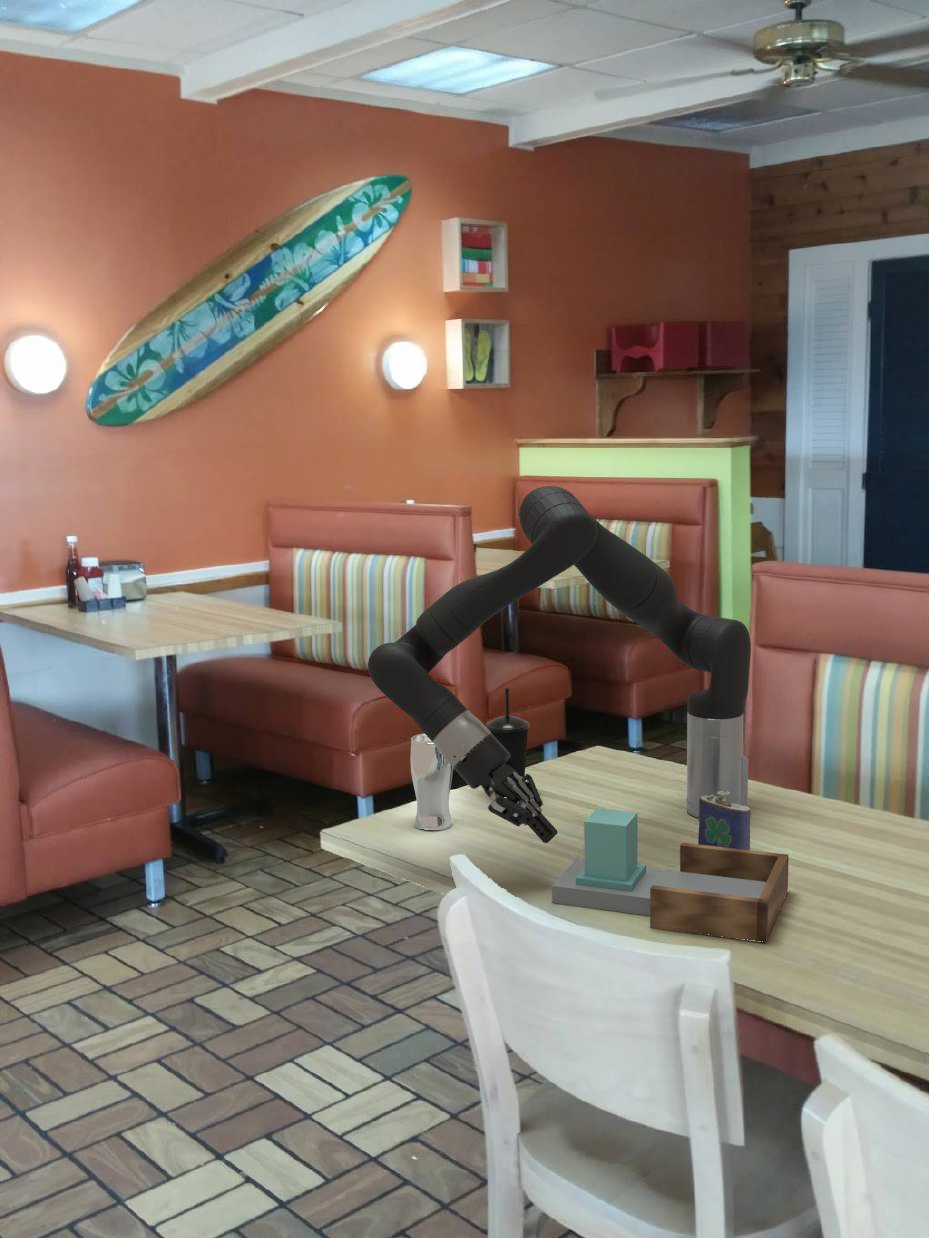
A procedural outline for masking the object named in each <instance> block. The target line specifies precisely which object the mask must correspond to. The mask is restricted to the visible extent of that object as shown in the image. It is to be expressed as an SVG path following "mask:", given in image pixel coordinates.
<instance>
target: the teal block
mask: <svg viewBox="0 0 929 1238" xmlns="http://www.w3.org/2000/svg"><path fill="white" fill-rule="evenodd" d="M583 827H584V828H583V830H584V831H583V832H584V834H583V836H584V840H583V842H584V846H583V848H584V852H583V853H584V860H585V868H584V869H583V870H582V871H581V872H580V873H579V875H578V876H577V877H576V885H583V886H591V887H598V888H606V889H614V890H622V891H629V892H632V890H633V889H634V887H635V886H636V885H637V883H638V882H639V881H640V879H641V878H642V876H643V875H644V874H645V872H646V868H647V864H642V863H638V812H635V811H634V812H631V811H624V810H614V809H605V808H596V809H594V810H593V811H592V813H591V814H590V815H589V816H587V817H586V819H585V820H584V823H583Z"/></svg>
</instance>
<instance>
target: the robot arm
mask: <svg viewBox="0 0 929 1238" xmlns="http://www.w3.org/2000/svg"><path fill="white" fill-rule="evenodd" d="M518 513H519V523H520V527H521V530H522V532H523V534H524V535H525V538H526V539H527V540H528V541H529V542H530V544H531V545H530V546H529V547H528V548H527V549H526V550H525V551H524V552H523V553H522V554H520V556H518V557H517V558H515V559H514V560H513V561H511V562H509V563H508V564H506V565H504V566H502V567H500V568H499V569H496V570H493V571H490V572H488V573H484V574H480V575H478V576H475V577H471V578H469V579H467V580H464V581H462V582H460V583H458V584H456V585H455V586H453V587H451V589H449V590H447V592H445V593H444V594H442V596H440V597H439V598H438V599H437V600H435V601H434V602H433V603H432V604H431V605H430V606H429V607H428V608H426V609H425V610H424V611H423V612H422V613H421V614H420V615H419V617H417V619H416V622H415V624H414V626H412V627H411V628H410V629H409V630H408V631H406V633H404V634H403V635H402V636H401V637H399V639H397V640H396V641H395V642H386V643H383V644H380V645H379V646H377V647H375V649H374V650H373V651H372V652H371V653H370V655H369V657H368V660H367V661H368V662H367V670H368V674H369V676H370V679H371V681H372V682H373V684H374V685H375V686H376V687H377V688H378V690H379V691H380V692H382V693H383V695H385V696H386V697H387V698H388V699H389V700H390V701H391V702H392V703H393V704H395V706H397V707H398V708H399V709H400V710H402V711H403V713H406V714H407V715H408V716H409V717H410V718H411V719H412V720H413V721H414V723H415V724H416V726H418V727H417V728H419V729H420V731H422V732H423V733H425V735H426V736H427V737H428V738H429V739H430V740H431V741H432V742H433V743H434V745H435V746H436V747H437V749H438V750H439V752H440V753H441V755H442V756H443V757H444V758H445V759H446V760H447V762H448V763H449V764H450V765H451V766H452V767H453V770H454V771H455V772H457V774H458V775H459V776H460V777H461V778H462V779H463V780H464V782H465V783H466V784H467V785H468V786H469V787H470V788H471V789H474V790H476V789H478V788H479V787H481V788H482V789H483V791H484V793H485V794H486V796H487V797H488V798H490V800H491V803H490V804H489V805H487V809H488V811H489V812H490V813H491V814H494V815H496V816H497V817H499V818H501V819H503V820H504V821H507V822H509V823H511V824H513V825H515V826H516V827H520V826H521V825H523V826H526V827H527V826H528V827H529V828H530V829H531V830H532V831H533V833H534V834H535V835H536V836H537V837H538V838H539V839H540V840H541V842H543V843H544V844H548V843H549V842H550V841H551V840H553V838H555V837H556V836H557V835H558V829H557V828H556V827H554V824H552V823H551V822H550V821H549V820H548V818H547V817H545V815H544V814H543V813H542V812H543V809H542V806H543V805H544V802H543V800H542V797H541V795H540V793H539V791H538V788H537V786H536V784H535V781H534V778H533V777H532V776H531V774H529V773H525V776H524V777H521V776H519V775H518V773H517V772H516V771H515V770H514V769H513V768H511V767H510V766H509V765H507V760H508V759H509V758H510V753H509V752H508V751H507V750H506V749H505V747H504V746H503V745H502V744H501V743H500V742H499V741H498V740H497V739H496V738H495V736H494V735H493V734H492V733H491V732H490V731H489V730H488V729H487V728H486V725H484V723H483V722H482V721H481V720H480V719H479V718H478V717H476V716H475V715H474V714H473V713H472V712H471V711H469V709H467V707H466V706H465V705H464V704H463V703H462V702H461V700H459V698H458V697H457V696H456V695H455V694H454V693H453V692H452V691H451V690H450V689H449V688H447V687H446V686H444V685H443V684H440V683H439V682H437V681H436V680H435V679H434V678H433V676H431V675H430V672H432V670H433V669H434V668H435V667H436V666H438V664H439V663H440V662H441V661H442V660H443V659H444V657H445V656H446V655H447V654H448V653H450V652H451V651H452V650H454V649H455V648H457V647H458V646H459V645H460V644H461V643H462V642H464V641H465V640H466V639H467V638H468V637H469V636H471V635H472V634H473V633H475V631H477V629H479V628H480V627H482V626H483V625H484V624H485V623H486V622H488V621H489V620H490V619H491V618H493V616H495V615H497V614H498V613H499V612H500V611H502V610H503V609H505V608H507V607H509V606H510V605H511V604H513V603H515V602H516V601H517V600H519V599H521V598H523V597H525V596H526V595H528V594H530V593H531V592H532V591H534V590H535V589H538V588H539V587H540V586H543V585H544V584H546V583H547V582H549V581H550V580H552V579H554V578H555V577H557V576H558V575H560V574H562V573H563V572H565V571H566V570H569V568H571V567H575V568H576V569H577V570H578V571H579V573H580V574H581V575H582V576H583V577H584V578H585V579H586V581H588V582H589V584H590V585H591V586H592V587H593V589H594V590H595V591H596V592H597V593H598V594H599V595H601V596H602V598H604V599H605V601H607V602H608V603H609V604H610V605H611V606H612V607H614V608H615V609H616V610H618V611H619V612H620V613H622V614H623V615H624V616H626V617H628V618H629V619H631V621H633V622H635V623H636V624H638V625H639V626H640V627H641V628H643V629H644V630H645V631H647V632H649V633H650V634H652V635H654V636H655V637H656V638H657V639H658V640H660V641H661V642H662V643H663V644H664V645H665V646H666V648H668V649H669V651H670V652H672V653H673V654H674V655H675V656H676V658H677V659H679V660H680V662H682V663H683V664H684V665H686V666H687V667H689V668H691V669H694V670H697V671H700V672H707V673H710V681H709V687H708V688H706V689H703V690H699V691H694V692H692V693H691V694H689V696H688V698H687V702H686V704H687V705H686V706H687V707H686V709H687V714H686V715H687V716H686V717H687V719H686V720H687V721H686V722H687V723H686V724H687V725H686V726H687V727H686V728H687V729H686V731H687V732H686V734H687V735H686V736H687V737H686V738H687V739H686V746H687V747H686V751H687V752H686V775H687V776H686V812H687V811H688V812H687V813H688V814H689V813H690V814H689V815H691V816H693V817H695V818H698V819H699V799H700V797H702V796H710V795H712V794H713V795H714V796H715V797H720V796H719V795H718V794H717V792H720V791H723V792H725V793H727V792H726V791H728V792H729V793H730V795H729V796H728V798H729V799H728V802H730V803H733V804H738V805H742V806H748V807H749V805H748V801H749V800H748V799H749V798H748V793H749V759H748V757H747V756H746V755H744V720H745V719H744V717H745V716H744V714H745V703H746V700H747V696H748V692H749V683H750V681H749V680H750V667H751V651H752V649H751V647H752V646H751V645H752V642H751V637H750V633H749V630H748V628H747V626H746V625H745V624H744V623H743V622H742V621H739V620H738V619H737V620H736V619H731V618H725V617H718V616H714V615H713V616H712V615H706V614H701V613H699V612H697V611H694V610H693V609H691V608H690V607H688V606H687V605H685V604H684V603H683V602H681V601H680V600H679V595H678V591H677V589H678V588H677V586H676V584H675V581H674V580H673V578H672V576H670V575H669V574H668V573H667V572H666V570H665V569H663V568H662V567H661V566H660V565H658V564H657V563H656V562H655V561H653V560H652V559H651V558H650V557H648V556H647V555H646V554H644V553H642V552H641V551H640V550H639V549H637V548H636V547H634V546H633V545H632V544H630V543H628V542H627V541H625V539H623V538H622V537H619V536H618V535H617V534H615V533H614V532H611V531H610V530H608V528H606V527H605V526H604V525H603V524H601V523H600V522H599V521H598V520H597V519H595V518H594V517H593V516H592V514H590V512H589V511H588V510H587V509H586V508H585V507H584V505H583V504H582V503H581V502H580V501H579V499H578V498H577V497H576V496H575V495H574V494H573V493H572V492H570V491H569V490H567V489H565V488H563V487H561V486H556V485H543V486H541V487H537V488H535V489H533V490H531V491H530V492H529V493H527V494H526V496H524V498H523V500H522V502H521V504H520V508H519V511H518ZM519 800H520V802H518V801H519Z"/></svg>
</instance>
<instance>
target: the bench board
mask: <svg viewBox="0 0 929 1238" xmlns="http://www.w3.org/2000/svg"><path fill="white" fill-rule="evenodd" d="M584 868H585V859H579V858H575V860H573V862H572V863H570V865H569V866H568V867H567V868H566V870H565V871H563V873H562V874H561V875H560V876H559V877H558V879H557V880H556V881H555V882H554V883H553V884H552V885H551V900H552V901H551V902H552V903H551V904H553V903H554V904H559V905H560V904H561V905H567V906H575V907H582V908H589V909H596V910H604V911H611V912H618V913H626V914H633V915H640V916H647V917H648V916H649V917H650V888H651V887H652V885H655V886H663V887H671V888H679V889H687V890H695V891H703V892H711V893H719V894H727V895H735V896H743V897H751V898H758V899H759V897H760V895H761V892H762V890H763V888H764V886H765V884H766V882H762V881H753V880H745V879H737V878H729V877H720V876H712V875H704V874H696V873H687V872H680V870H679V871H677V870H668V869H662V868H661V869H660V868H652V867H646V872H645V874H644V875H643V876H642V878H641V879H640V881H639V882H638V883H637V885H636V886H635V887H634V889H633V890H632V892H629V891H622V890H614V889H606V888H598V887H591V886H583V885H576V877H577V876H578V875H579V873H580V872H581V871H582V870H583V869H584Z"/></svg>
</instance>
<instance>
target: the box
mask: <svg viewBox="0 0 929 1238" xmlns="http://www.w3.org/2000/svg"><path fill="white" fill-rule="evenodd" d="M679 872H687V873H696V874H704V875H712V876H720V877H729V878H737V879H745V880H753V881H762V882H766V884H765V886H764V888H763V890H762V892H761V895H760V897H759V899H758V898H751V897H743V896H735V895H727V894H719V893H711V892H703V891H695V890H687V889H679V888H671V887H663V886H655V885H652V887H651V888H650V916H649V924H650V925H649V928H651V929H656V930H657V929H660V930H664V931H665V930H667V931H673V932H679V931H681V932H680V933H686V932H690V933H689V934H693V933H698V934H697V935H701V934H706V935H705V936H708V934H709V935H712V936H711V937H715V936H723V937H727V938H726V939H729V938H736V939H735V940H737V938H738V939H745V940H747V939H748V940H755V941H761V942H762V941H763V942H766V940H767V941H768V939H769V937H770V935H771V932H770V931H772V930H771V929H773V928H772V927H774V925H775V923H776V921H775V919H776V920H777V918H778V916H777V915H779V913H780V911H779V909H780V907H781V908H782V906H783V904H782V902H783V900H784V901H785V899H784V897H785V896H786V897H787V895H786V893H787V894H788V892H787V890H788V889H789V854H787V853H786V854H785V853H777V852H769V851H759V850H752V849H750V850H743V849H734V848H725V847H716V846H707V845H699V844H697V843H688V842H681V844H680V845H679ZM788 891H789V890H788ZM786 897H785V898H786ZM783 903H784V902H783ZM781 905H782V906H781ZM780 910H781V909H780ZM778 912H779V913H778ZM776 917H777V918H776ZM774 922H775V923H774ZM773 924H774V925H773ZM700 933H701V934H700ZM769 934H770V935H769ZM768 936H769V937H768ZM767 938H768V939H767ZM766 943H767V942H766Z"/></svg>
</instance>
